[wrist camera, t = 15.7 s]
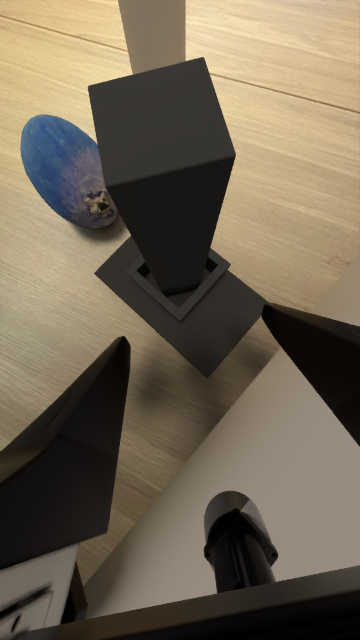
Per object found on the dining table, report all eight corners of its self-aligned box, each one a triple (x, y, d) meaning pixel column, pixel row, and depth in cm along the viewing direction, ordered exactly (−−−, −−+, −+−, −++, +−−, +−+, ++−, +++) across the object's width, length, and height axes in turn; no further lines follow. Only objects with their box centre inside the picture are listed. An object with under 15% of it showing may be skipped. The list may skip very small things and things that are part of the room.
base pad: (266, 305, 18) (286, 298, 14) (206, 376, 17) (211, 386, 14) (155, 217, 20) (149, 192, 16) (98, 276, 19) (79, 263, 16)
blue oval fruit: (52, 179, 9) (-38, 76, 12) (92, 270, 17) (33, 198, 19) (154, 172, 13) (72, 97, 15) (149, 249, 21) (94, 191, 23)
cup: (149, 139, 22) (123, 3, 13) (131, 93, 23) (97, -59, 14) (191, 124, 22) (195, -22, 13) (171, 80, 23) (163, -82, 14)
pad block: (198, 289, 17) (237, 154, 4) (164, 297, 17) (104, 185, 4) (190, 257, 18) (204, 55, 5) (157, 265, 18) (86, 84, 5)
